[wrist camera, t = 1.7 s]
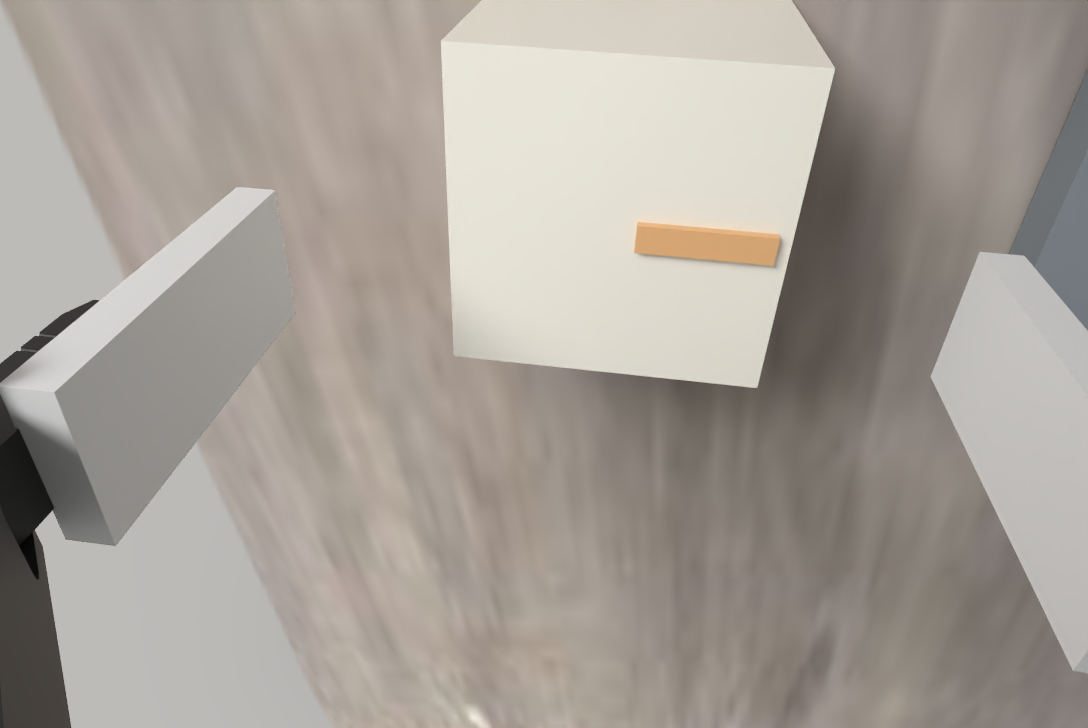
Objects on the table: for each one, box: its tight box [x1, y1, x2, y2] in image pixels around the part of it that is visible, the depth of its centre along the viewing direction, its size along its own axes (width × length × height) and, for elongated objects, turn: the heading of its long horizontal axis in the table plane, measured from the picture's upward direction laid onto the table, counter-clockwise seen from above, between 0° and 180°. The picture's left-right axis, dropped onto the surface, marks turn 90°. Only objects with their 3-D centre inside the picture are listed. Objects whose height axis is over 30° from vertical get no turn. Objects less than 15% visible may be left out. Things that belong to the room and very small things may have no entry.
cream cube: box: [441, 0, 835, 388], centre depth 19 cm, size 7×7×7 cm
